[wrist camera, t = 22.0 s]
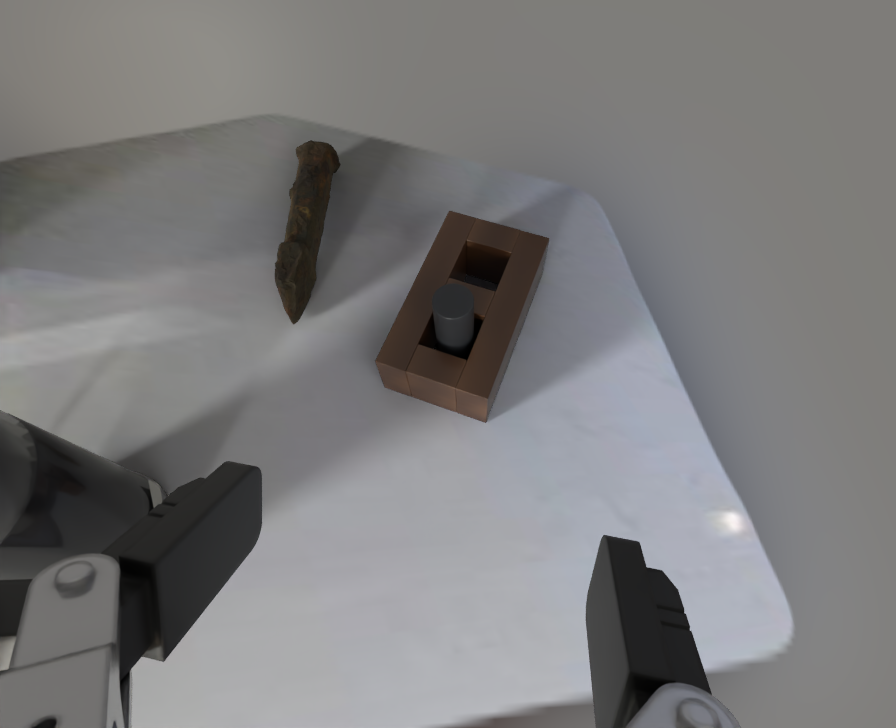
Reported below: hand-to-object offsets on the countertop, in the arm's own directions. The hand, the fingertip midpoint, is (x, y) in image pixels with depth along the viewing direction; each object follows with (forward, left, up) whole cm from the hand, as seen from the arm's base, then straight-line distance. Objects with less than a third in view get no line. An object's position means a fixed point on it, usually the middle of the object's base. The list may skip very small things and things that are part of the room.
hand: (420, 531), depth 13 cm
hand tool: (-24, +25, -29) cm, 45 cm away
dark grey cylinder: (-7, +18, -29) cm, 34 cm away
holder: (-7, +21, -29) cm, 36 cm away
